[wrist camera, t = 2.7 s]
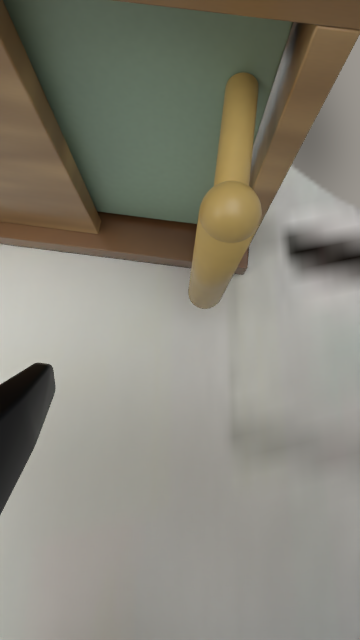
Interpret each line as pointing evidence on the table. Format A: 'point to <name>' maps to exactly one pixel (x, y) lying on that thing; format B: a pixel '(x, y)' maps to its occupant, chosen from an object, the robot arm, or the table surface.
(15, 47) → the door frame
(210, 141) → the door
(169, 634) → the table surface
